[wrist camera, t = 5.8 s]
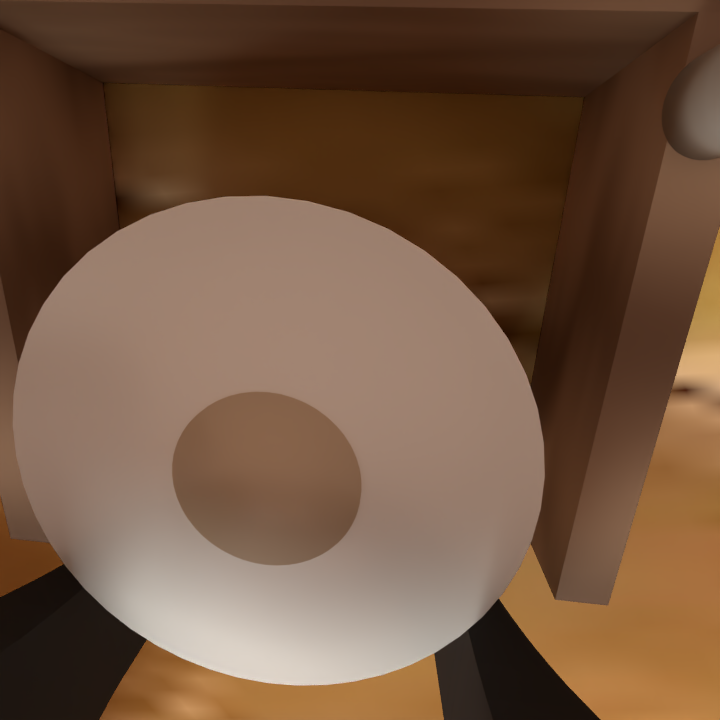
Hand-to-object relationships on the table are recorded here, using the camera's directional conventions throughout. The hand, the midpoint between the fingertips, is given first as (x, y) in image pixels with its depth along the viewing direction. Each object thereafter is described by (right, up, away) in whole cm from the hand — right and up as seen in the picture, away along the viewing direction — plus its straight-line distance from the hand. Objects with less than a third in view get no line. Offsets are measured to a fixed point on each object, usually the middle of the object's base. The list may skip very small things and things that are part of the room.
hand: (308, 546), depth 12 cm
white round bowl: (0, +5, +1) cm, 5 cm away
